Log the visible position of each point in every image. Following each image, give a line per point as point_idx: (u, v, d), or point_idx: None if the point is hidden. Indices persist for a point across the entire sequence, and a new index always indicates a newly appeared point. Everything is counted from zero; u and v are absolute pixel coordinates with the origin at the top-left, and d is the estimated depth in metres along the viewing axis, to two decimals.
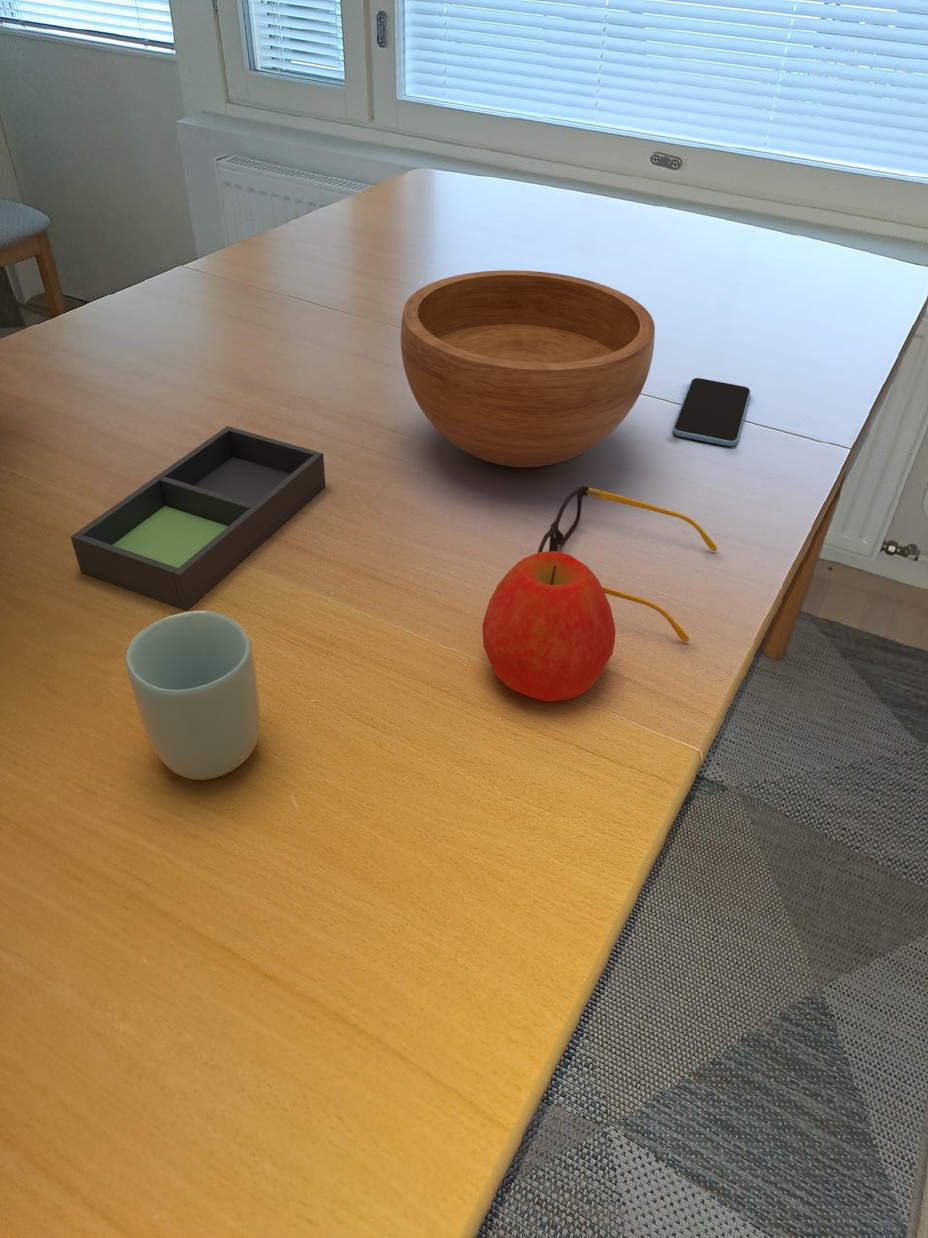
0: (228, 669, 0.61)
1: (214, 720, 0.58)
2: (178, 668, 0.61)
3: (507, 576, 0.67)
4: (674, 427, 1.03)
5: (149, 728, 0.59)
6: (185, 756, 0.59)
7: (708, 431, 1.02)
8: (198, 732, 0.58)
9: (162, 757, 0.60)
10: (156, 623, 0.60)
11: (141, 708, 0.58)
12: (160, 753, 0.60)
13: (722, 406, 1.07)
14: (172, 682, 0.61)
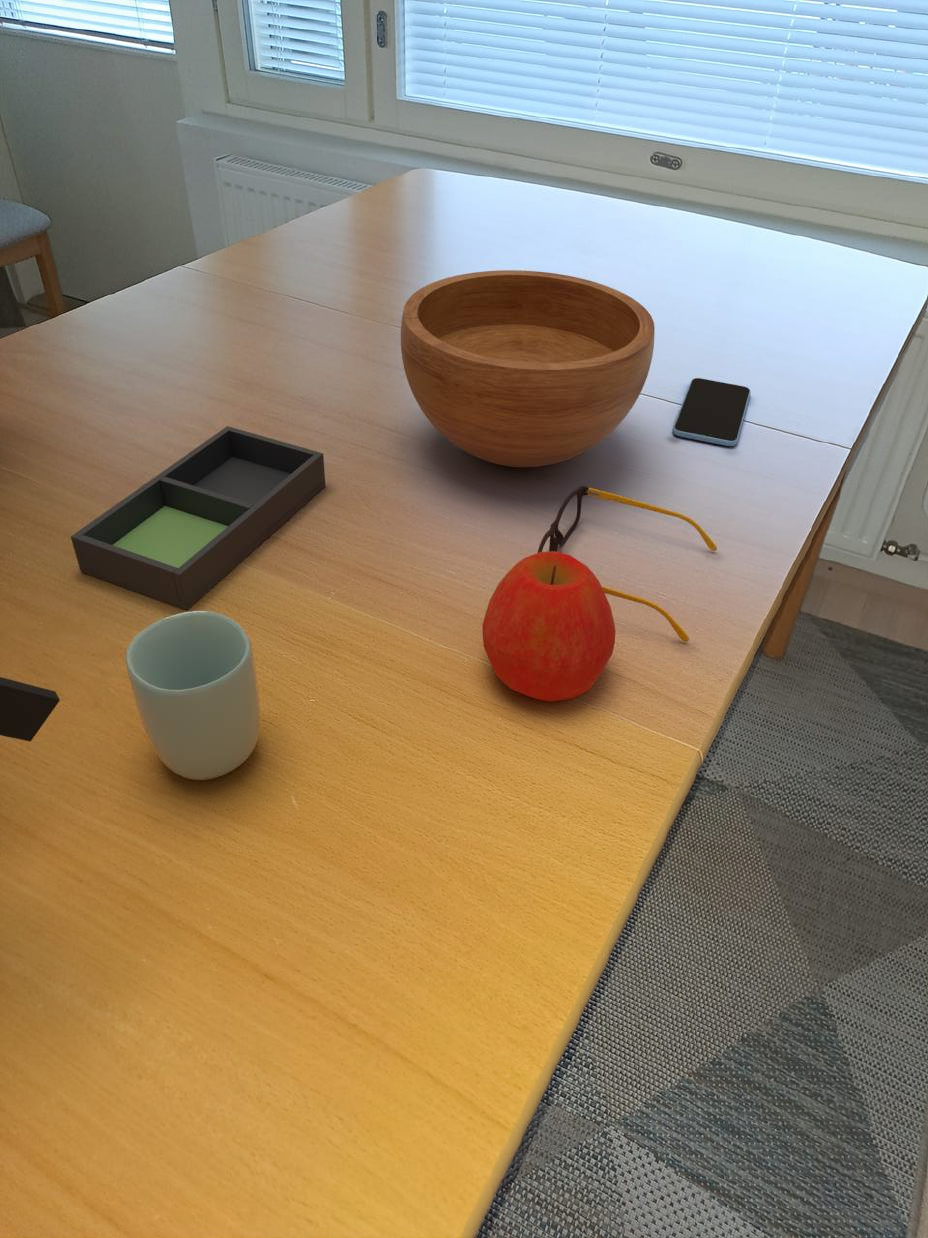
0: (228, 669, 0.61)
1: (214, 720, 0.58)
2: (178, 668, 0.61)
3: (507, 576, 0.67)
4: (674, 427, 1.03)
5: (149, 728, 0.59)
6: (185, 756, 0.59)
7: (708, 431, 1.02)
8: (198, 732, 0.58)
9: (162, 757, 0.60)
10: (156, 623, 0.60)
11: (141, 708, 0.58)
12: (160, 753, 0.60)
13: (722, 406, 1.07)
14: (172, 682, 0.61)
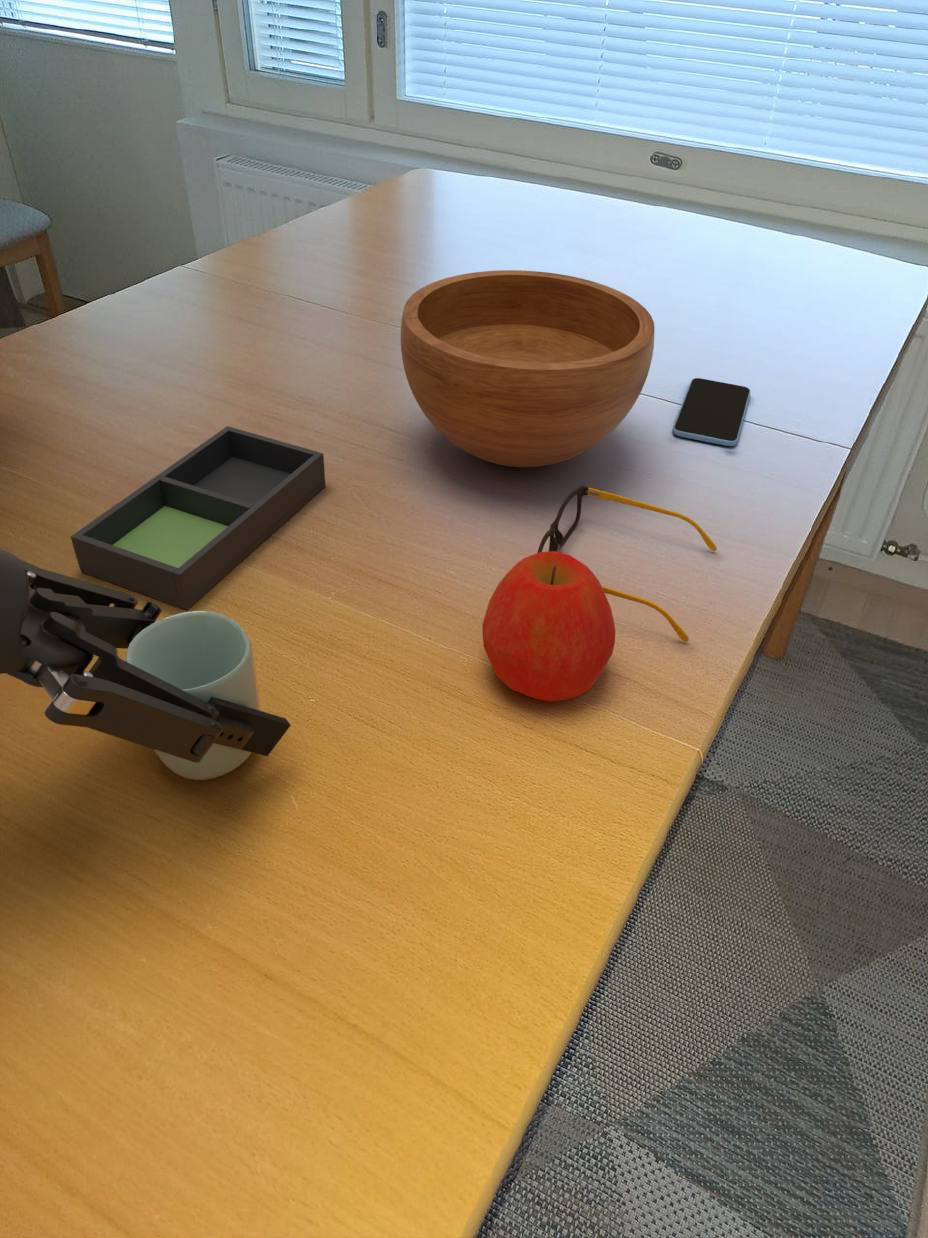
0: (228, 669, 0.61)
1: None
2: (178, 668, 0.61)
3: (507, 576, 0.67)
4: (674, 427, 1.03)
5: None
6: None
7: (708, 431, 1.02)
8: None
9: (162, 757, 0.60)
10: (156, 623, 0.60)
11: None
12: (160, 753, 0.60)
13: (722, 406, 1.07)
14: (172, 682, 0.61)
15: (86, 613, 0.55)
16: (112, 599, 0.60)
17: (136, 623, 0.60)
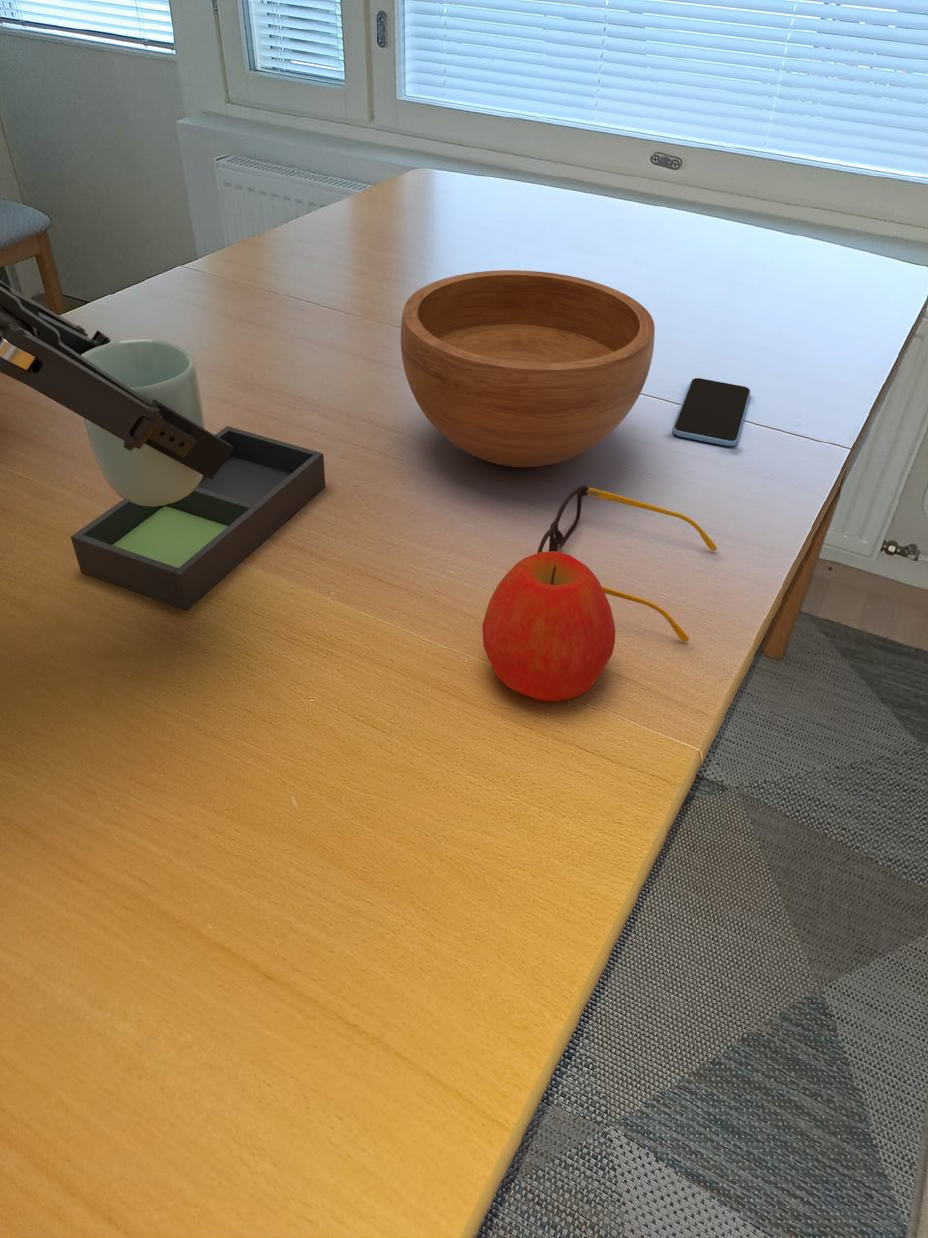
0: None
1: None
2: None
3: (507, 576, 0.67)
4: (674, 427, 1.03)
5: (96, 440, 0.61)
6: (131, 468, 0.61)
7: (708, 431, 1.02)
8: None
9: (110, 476, 0.63)
10: (104, 346, 0.62)
11: None
12: (107, 470, 0.62)
13: (722, 406, 1.07)
14: None
15: (33, 311, 0.57)
16: (62, 323, 0.63)
17: (84, 343, 0.62)
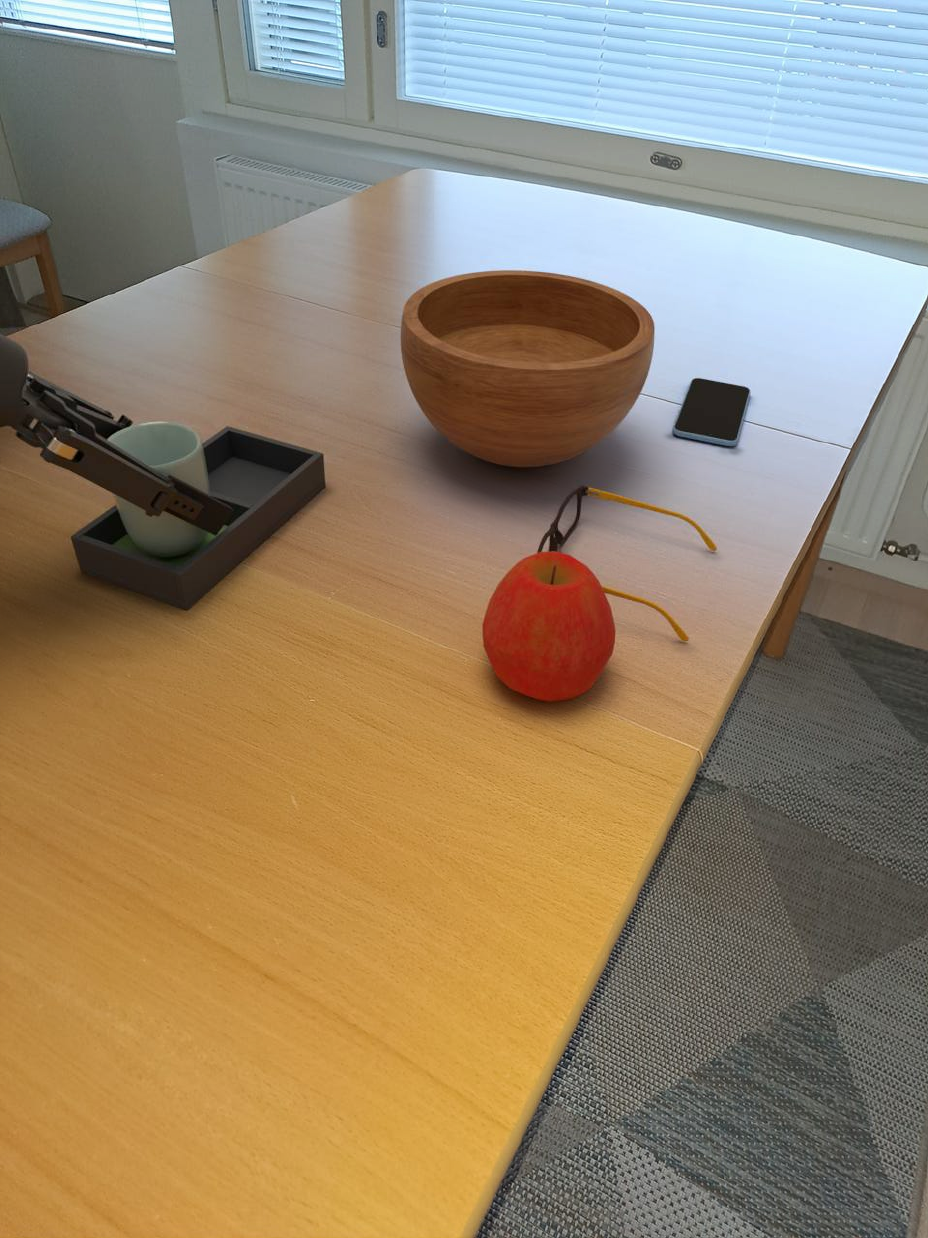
0: None
1: None
2: None
3: (507, 576, 0.67)
4: (674, 427, 1.03)
5: (122, 506, 0.75)
6: (150, 528, 0.75)
7: (708, 431, 1.02)
8: None
9: (132, 534, 0.77)
10: (128, 428, 0.76)
11: None
12: (131, 530, 0.76)
13: (722, 406, 1.07)
14: None
15: (72, 406, 0.71)
16: (93, 409, 0.77)
17: (112, 427, 0.76)
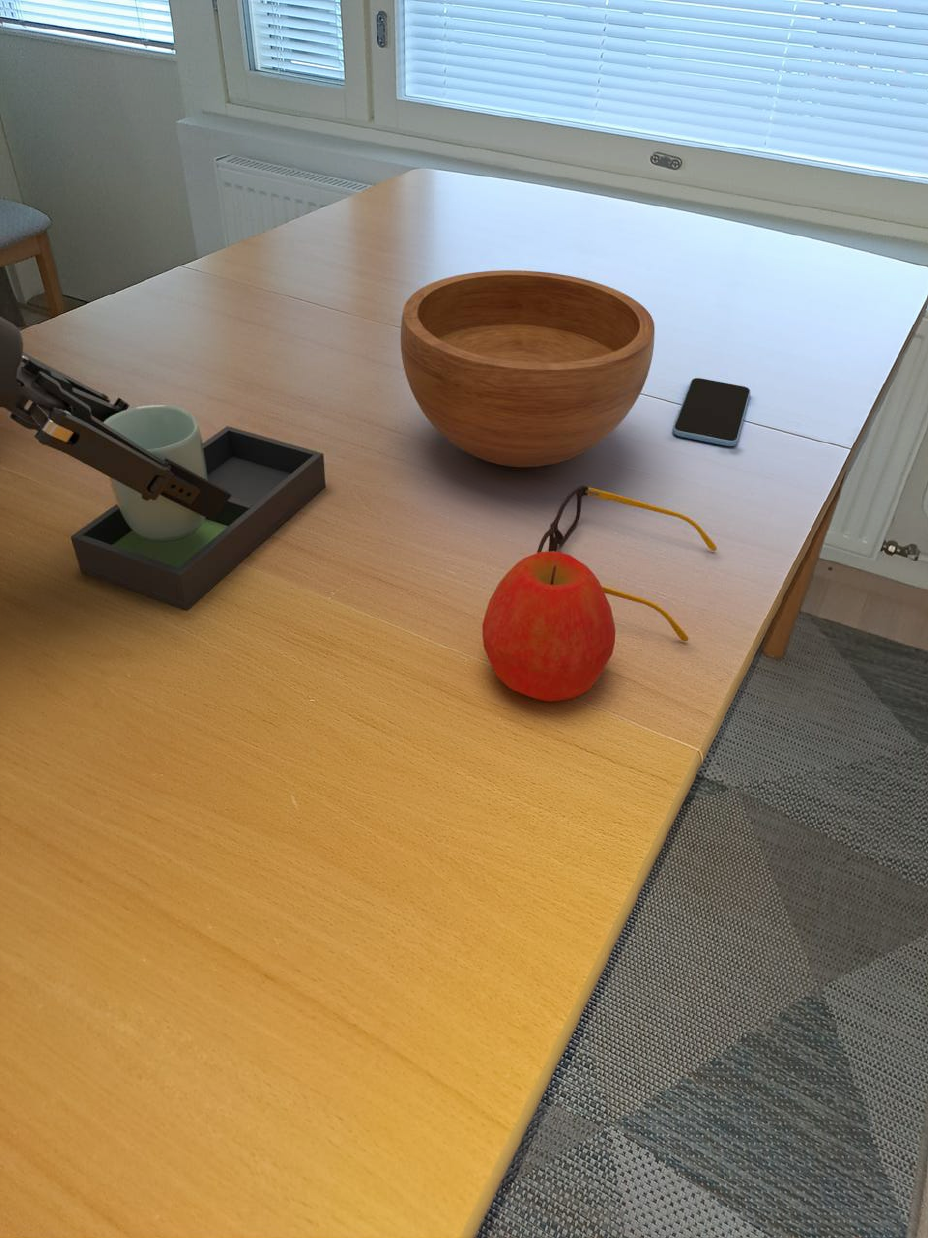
0: None
1: None
2: None
3: (507, 576, 0.67)
4: (674, 427, 1.03)
5: (118, 490, 0.74)
6: (147, 513, 0.75)
7: (708, 431, 1.02)
8: None
9: (129, 518, 0.76)
10: (124, 411, 0.76)
11: None
12: (127, 514, 0.76)
13: (722, 406, 1.07)
14: None
15: (68, 388, 0.70)
16: (89, 392, 0.76)
17: (108, 410, 0.75)
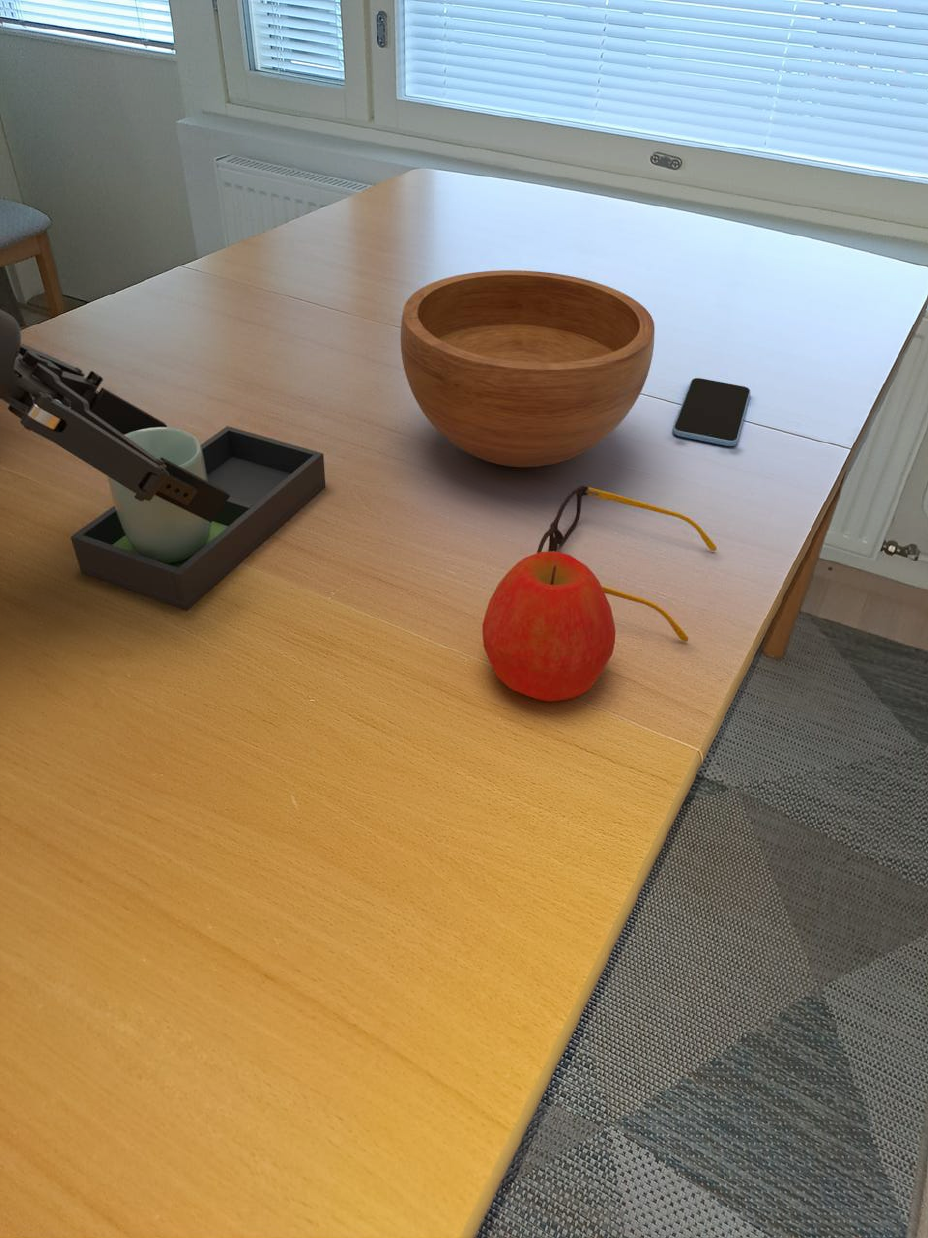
0: None
1: None
2: None
3: (507, 576, 0.67)
4: (674, 427, 1.03)
5: (122, 512, 0.75)
6: (151, 535, 0.75)
7: (708, 431, 1.02)
8: (160, 512, 0.74)
9: (133, 540, 0.77)
10: (127, 434, 0.76)
11: (115, 495, 0.74)
12: (131, 536, 0.77)
13: (722, 406, 1.07)
14: None
15: (58, 374, 0.70)
16: (68, 369, 0.76)
17: (86, 387, 0.75)
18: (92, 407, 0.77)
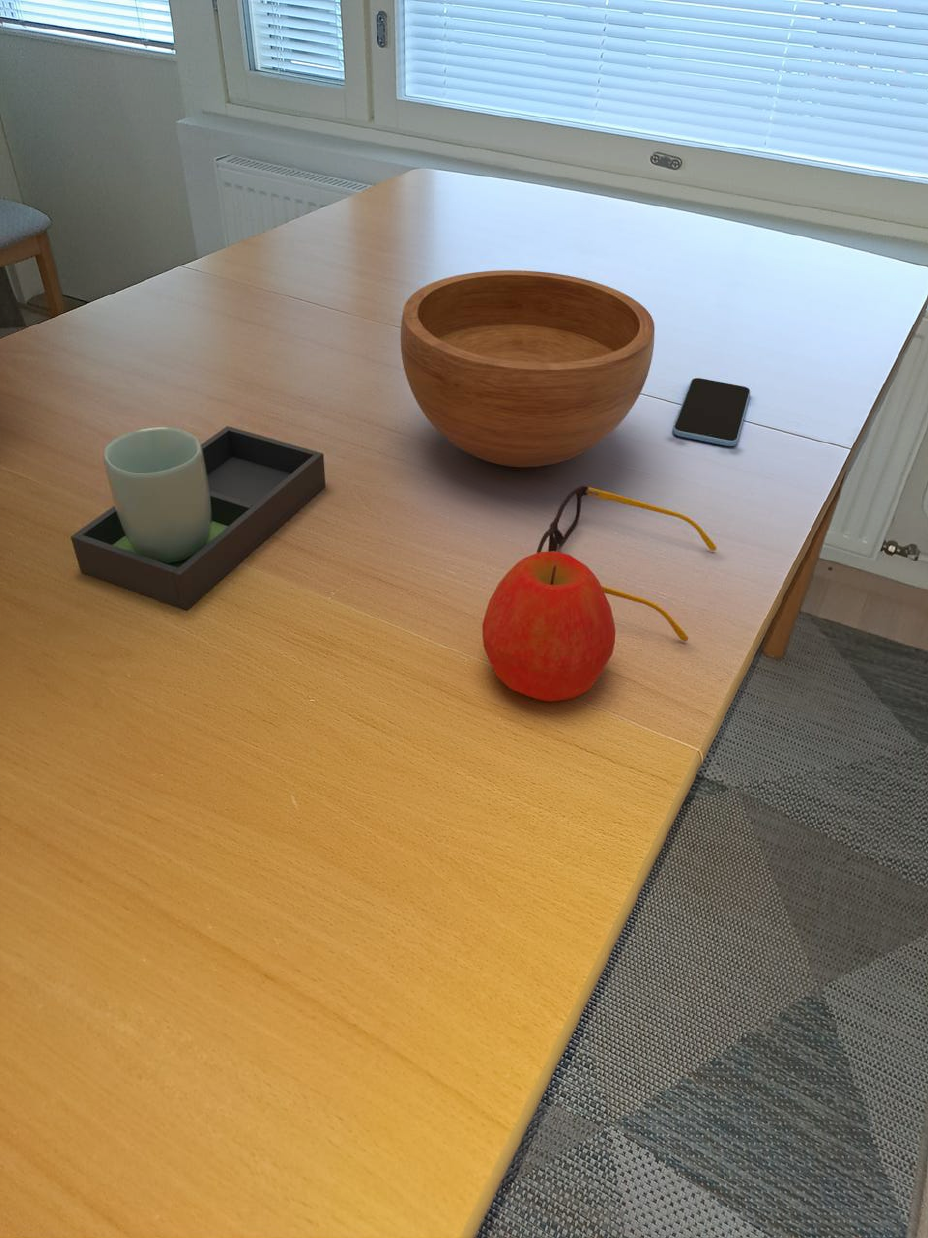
0: None
1: (173, 502, 0.74)
2: (146, 473, 0.78)
3: (507, 576, 0.67)
4: (674, 427, 1.03)
5: (122, 512, 0.75)
6: (151, 535, 0.75)
7: (708, 431, 1.02)
8: (160, 512, 0.74)
9: (133, 540, 0.77)
10: (127, 434, 0.77)
11: (116, 494, 0.74)
12: (131, 536, 0.77)
13: (722, 406, 1.07)
14: None
15: None
16: None
17: None
18: None
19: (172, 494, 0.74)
